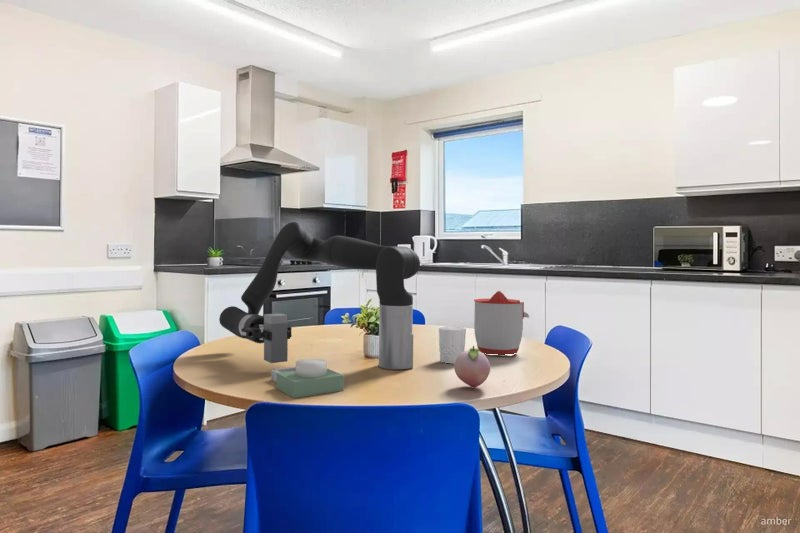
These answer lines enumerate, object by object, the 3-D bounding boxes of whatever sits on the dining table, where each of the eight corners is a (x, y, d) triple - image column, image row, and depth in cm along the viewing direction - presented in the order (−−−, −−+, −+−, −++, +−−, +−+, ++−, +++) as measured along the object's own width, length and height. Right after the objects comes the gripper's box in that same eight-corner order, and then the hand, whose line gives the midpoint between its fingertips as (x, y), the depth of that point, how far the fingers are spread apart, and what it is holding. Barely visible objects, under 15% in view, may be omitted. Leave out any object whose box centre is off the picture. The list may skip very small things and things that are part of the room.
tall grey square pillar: (264, 360, 139) (264, 314, 139) (279, 358, 142) (279, 313, 141) (271, 363, 135) (271, 316, 135) (287, 361, 138) (287, 315, 137)
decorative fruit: (452, 382, 130) (453, 342, 129) (486, 383, 129) (487, 342, 129) (455, 393, 120) (456, 349, 120) (491, 393, 120) (492, 349, 120)
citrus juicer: (534, 359, 160) (535, 293, 160) (476, 358, 161) (477, 292, 160) (522, 349, 176) (523, 289, 175) (470, 348, 176) (471, 288, 176)
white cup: (469, 361, 156) (470, 327, 156) (457, 366, 149) (458, 330, 149) (445, 358, 160) (446, 325, 160) (433, 362, 153) (433, 328, 153)
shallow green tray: (263, 380, 129) (263, 354, 129) (308, 374, 136) (309, 349, 136) (294, 398, 114) (294, 368, 114) (343, 390, 121) (343, 362, 121)
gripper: (230, 316, 146) (252, 323, 132) (280, 313, 154) (305, 319, 140) (230, 343, 146) (252, 353, 132) (280, 339, 154) (305, 347, 140)
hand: (279, 335), depth 136 cm, fingers closed on tall grey square pillar, 4 cm apart
